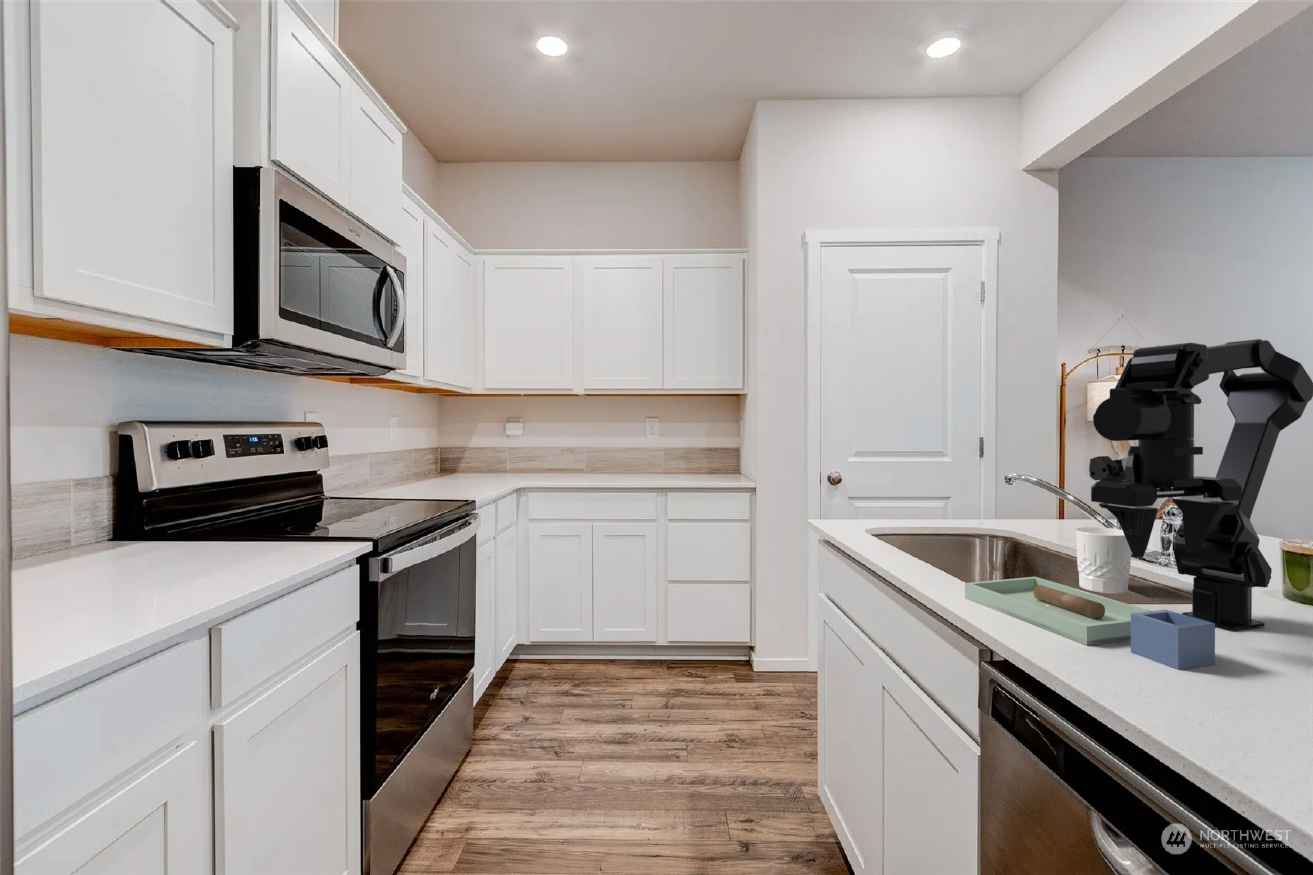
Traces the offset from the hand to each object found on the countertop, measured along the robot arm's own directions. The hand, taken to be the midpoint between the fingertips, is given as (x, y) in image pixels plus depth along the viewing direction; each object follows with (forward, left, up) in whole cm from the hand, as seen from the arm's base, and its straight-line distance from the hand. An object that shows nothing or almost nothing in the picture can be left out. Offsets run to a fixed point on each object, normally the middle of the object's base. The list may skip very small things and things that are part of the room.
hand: (1165, 554), depth 81 cm
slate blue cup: (+7, +6, -11) cm, 14 cm away
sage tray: (+6, -11, -11) cm, 17 cm away
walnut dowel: (+4, -11, -9) cm, 15 cm away
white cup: (-13, -20, -11) cm, 26 cm away
